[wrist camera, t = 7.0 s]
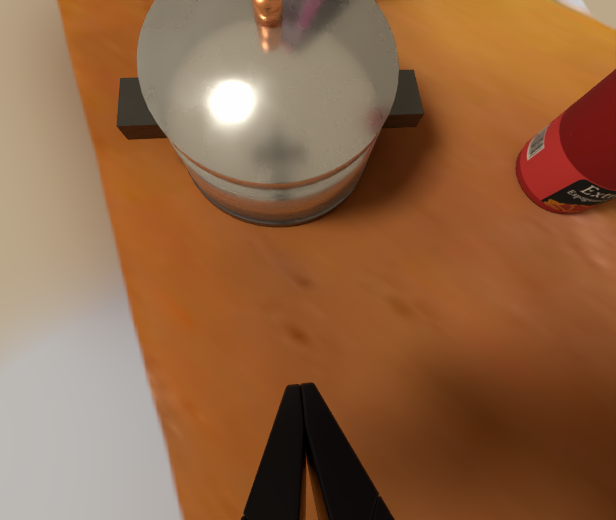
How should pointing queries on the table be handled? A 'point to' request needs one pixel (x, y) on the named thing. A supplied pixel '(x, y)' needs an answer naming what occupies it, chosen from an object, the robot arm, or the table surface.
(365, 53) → the cooker lid
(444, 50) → the table surface
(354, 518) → the robot arm
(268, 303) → the table surface
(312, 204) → the cooker pot
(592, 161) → the canned food
